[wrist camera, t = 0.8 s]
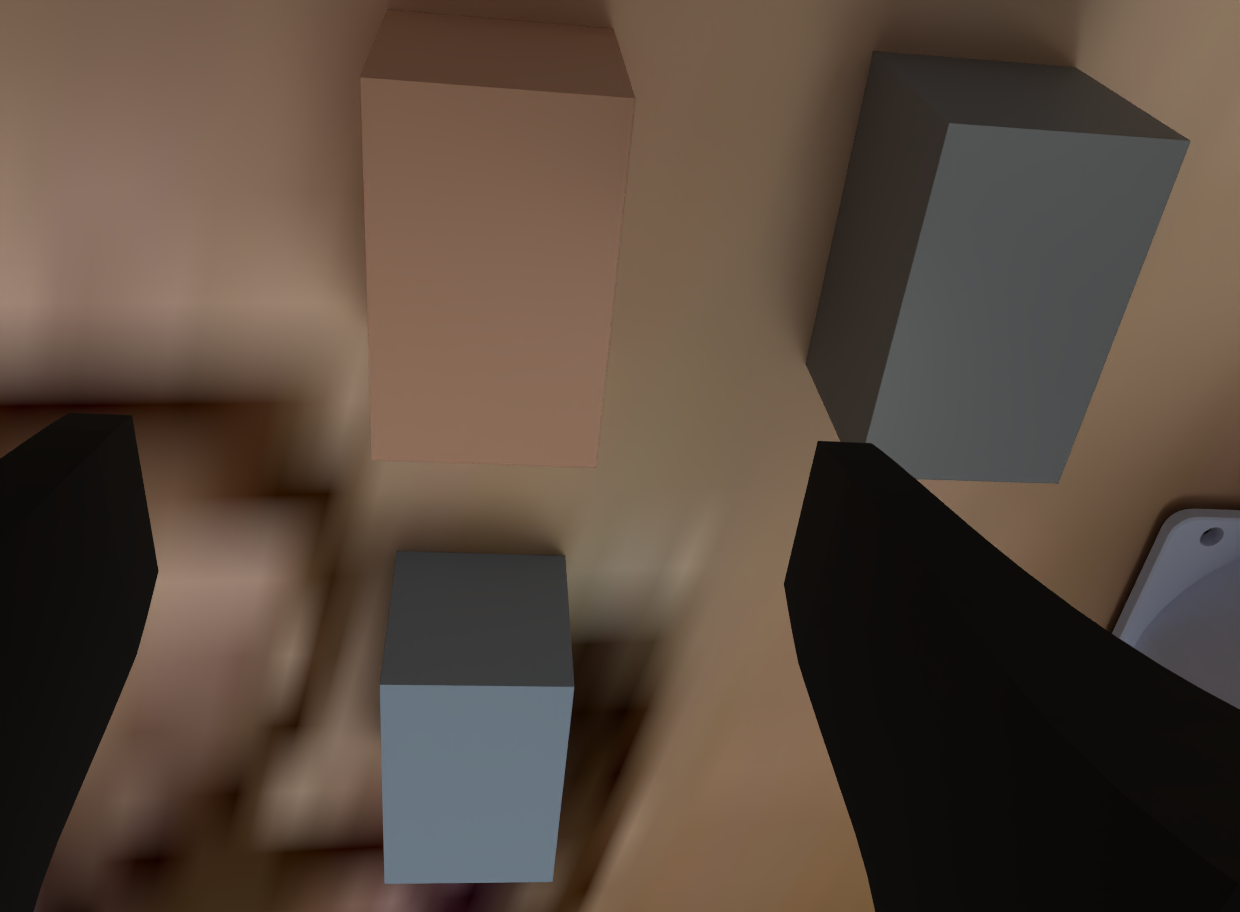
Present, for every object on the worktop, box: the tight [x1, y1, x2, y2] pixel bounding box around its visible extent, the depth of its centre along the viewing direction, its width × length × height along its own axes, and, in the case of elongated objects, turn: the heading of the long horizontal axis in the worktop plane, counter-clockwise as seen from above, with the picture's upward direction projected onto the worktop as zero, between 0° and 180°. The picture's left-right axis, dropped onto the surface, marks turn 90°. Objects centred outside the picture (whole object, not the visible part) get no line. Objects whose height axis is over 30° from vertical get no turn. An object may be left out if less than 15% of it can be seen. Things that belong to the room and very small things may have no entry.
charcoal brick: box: [806, 51, 1190, 484], centre depth 19 cm, size 4×6×4 cm, turn 174°
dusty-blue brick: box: [380, 551, 574, 884], centre depth 24 cm, size 4×6×4 cm, turn 174°
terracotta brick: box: [360, 10, 635, 468], centre depth 18 cm, size 4×6×4 cm, turn 174°
